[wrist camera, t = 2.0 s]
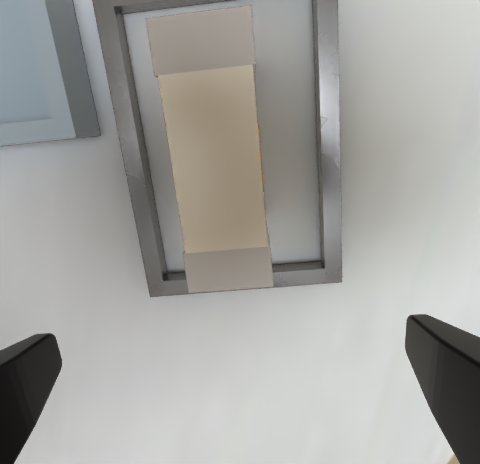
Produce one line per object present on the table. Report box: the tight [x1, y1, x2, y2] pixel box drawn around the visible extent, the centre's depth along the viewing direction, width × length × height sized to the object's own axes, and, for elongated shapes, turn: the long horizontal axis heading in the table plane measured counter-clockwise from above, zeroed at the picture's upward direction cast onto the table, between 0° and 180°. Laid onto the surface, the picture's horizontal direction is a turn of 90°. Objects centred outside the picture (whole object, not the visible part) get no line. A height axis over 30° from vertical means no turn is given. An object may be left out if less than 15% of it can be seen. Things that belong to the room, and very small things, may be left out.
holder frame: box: [92, 0, 342, 297], centre depth 20 cm, size 12×17×1 cm
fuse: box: [146, 5, 274, 293], centre depth 16 cm, size 3×9×9 cm, turn 6°
